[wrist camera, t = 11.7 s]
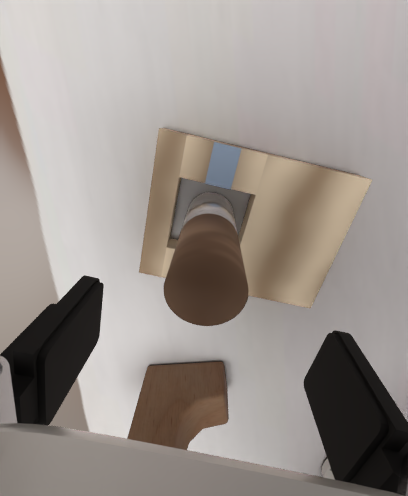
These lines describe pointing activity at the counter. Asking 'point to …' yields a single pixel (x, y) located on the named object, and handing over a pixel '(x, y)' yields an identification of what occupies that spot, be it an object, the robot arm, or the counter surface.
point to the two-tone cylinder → (207, 265)
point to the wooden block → (180, 403)
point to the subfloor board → (257, 212)
